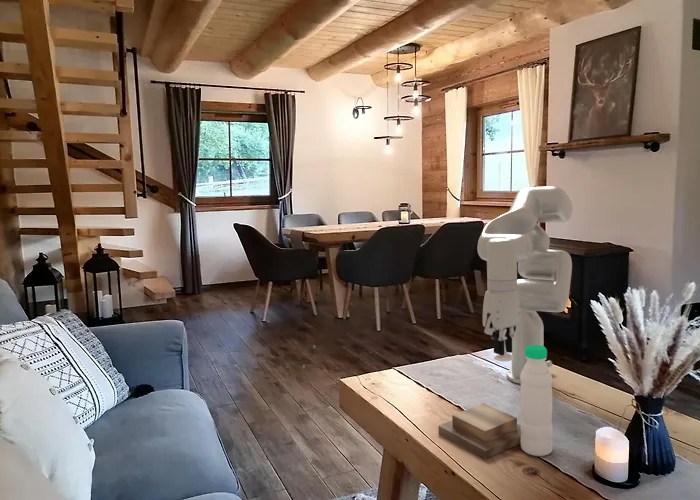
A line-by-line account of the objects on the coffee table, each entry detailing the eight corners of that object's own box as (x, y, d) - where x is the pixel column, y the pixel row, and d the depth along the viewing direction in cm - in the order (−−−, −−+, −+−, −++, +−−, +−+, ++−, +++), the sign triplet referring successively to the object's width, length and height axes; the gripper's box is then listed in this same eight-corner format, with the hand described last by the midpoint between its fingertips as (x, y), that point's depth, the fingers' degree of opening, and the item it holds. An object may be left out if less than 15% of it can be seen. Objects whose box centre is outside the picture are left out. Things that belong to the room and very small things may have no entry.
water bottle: (559, 454, 122) (559, 349, 119) (532, 460, 120) (532, 353, 117) (539, 440, 129) (539, 340, 125) (514, 445, 127) (513, 344, 123)
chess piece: (513, 361, 139) (513, 324, 138) (494, 361, 140) (493, 324, 139) (511, 355, 144) (511, 319, 143) (493, 355, 145) (492, 319, 144)
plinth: (483, 415, 143) (483, 397, 143) (532, 438, 130) (532, 418, 129) (438, 432, 135) (438, 414, 134) (485, 459, 121) (485, 438, 121)
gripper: (511, 278, 147) (512, 343, 149) (469, 287, 138) (471, 355, 141) (534, 282, 141) (534, 349, 143) (491, 292, 132) (492, 363, 135)
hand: (502, 352), depth 142 cm, fingers closed on chess piece
